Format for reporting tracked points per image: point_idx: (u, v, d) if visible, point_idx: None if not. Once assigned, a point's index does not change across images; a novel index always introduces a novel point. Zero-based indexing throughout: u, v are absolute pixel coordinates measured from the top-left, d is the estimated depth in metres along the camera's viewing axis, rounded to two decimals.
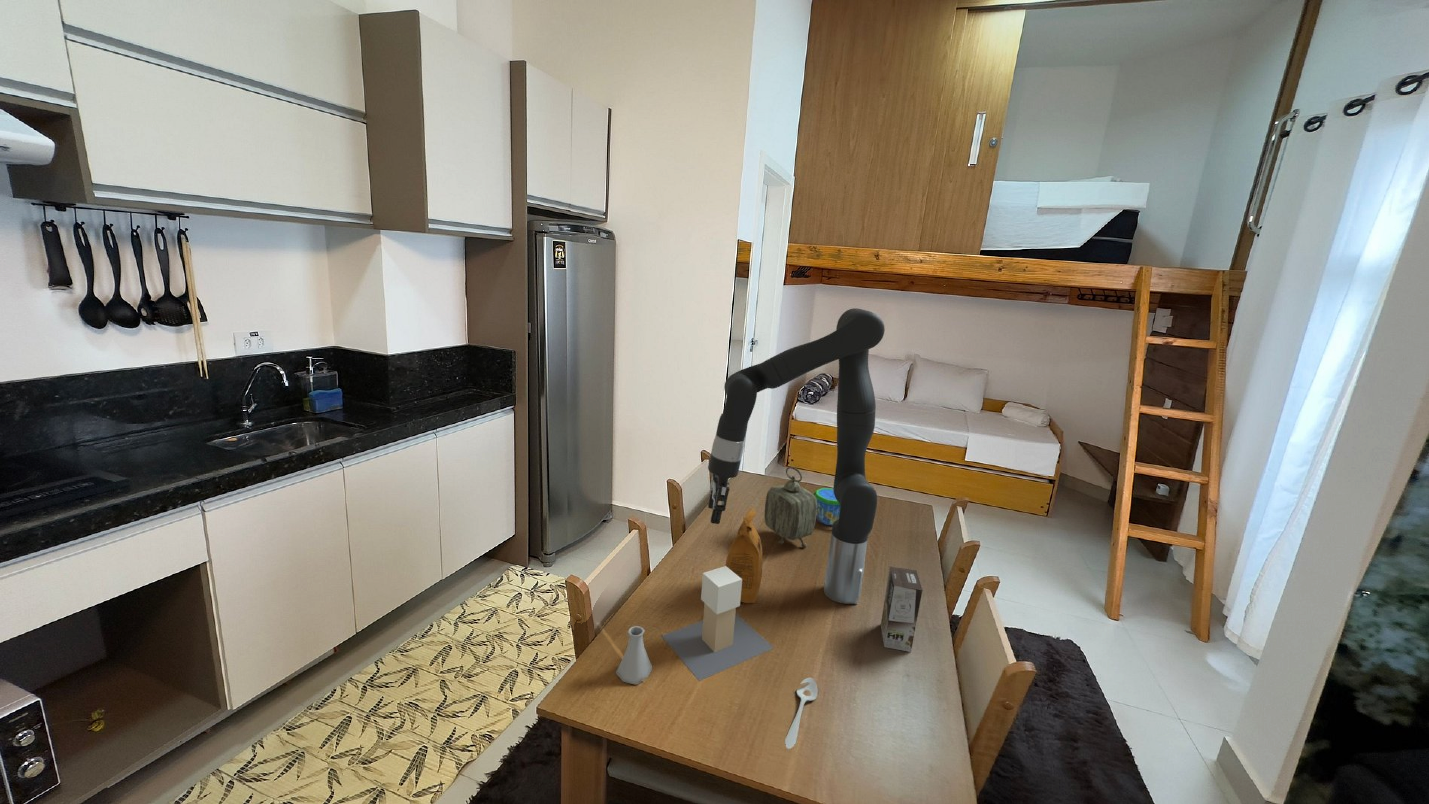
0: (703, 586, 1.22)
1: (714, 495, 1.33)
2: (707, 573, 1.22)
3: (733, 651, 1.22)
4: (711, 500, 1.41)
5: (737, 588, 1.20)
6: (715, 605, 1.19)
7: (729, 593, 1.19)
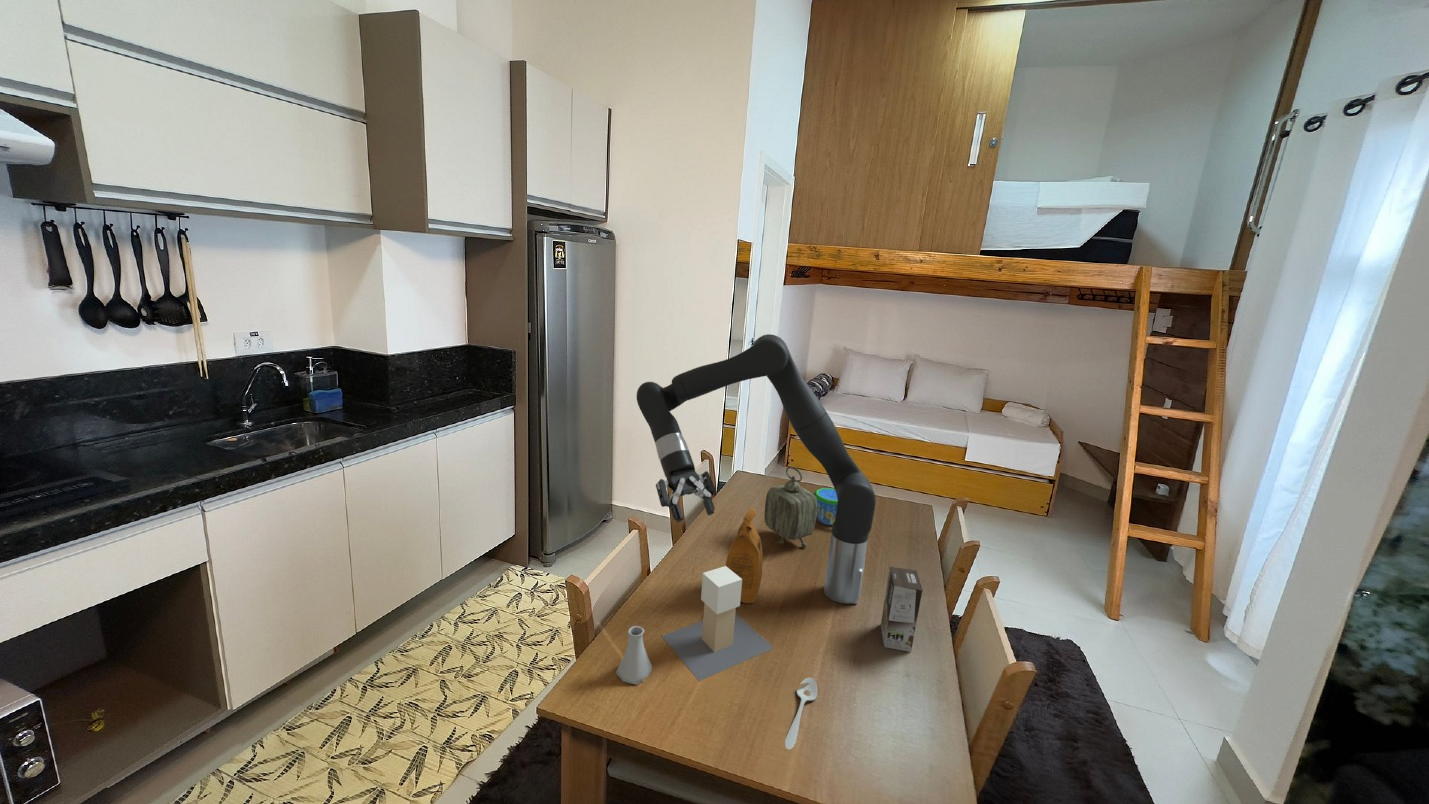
0: (703, 586, 1.22)
1: (671, 495, 1.31)
2: (707, 573, 1.22)
3: (733, 651, 1.22)
4: (705, 506, 1.33)
5: (737, 588, 1.20)
6: (715, 605, 1.19)
7: (729, 593, 1.19)
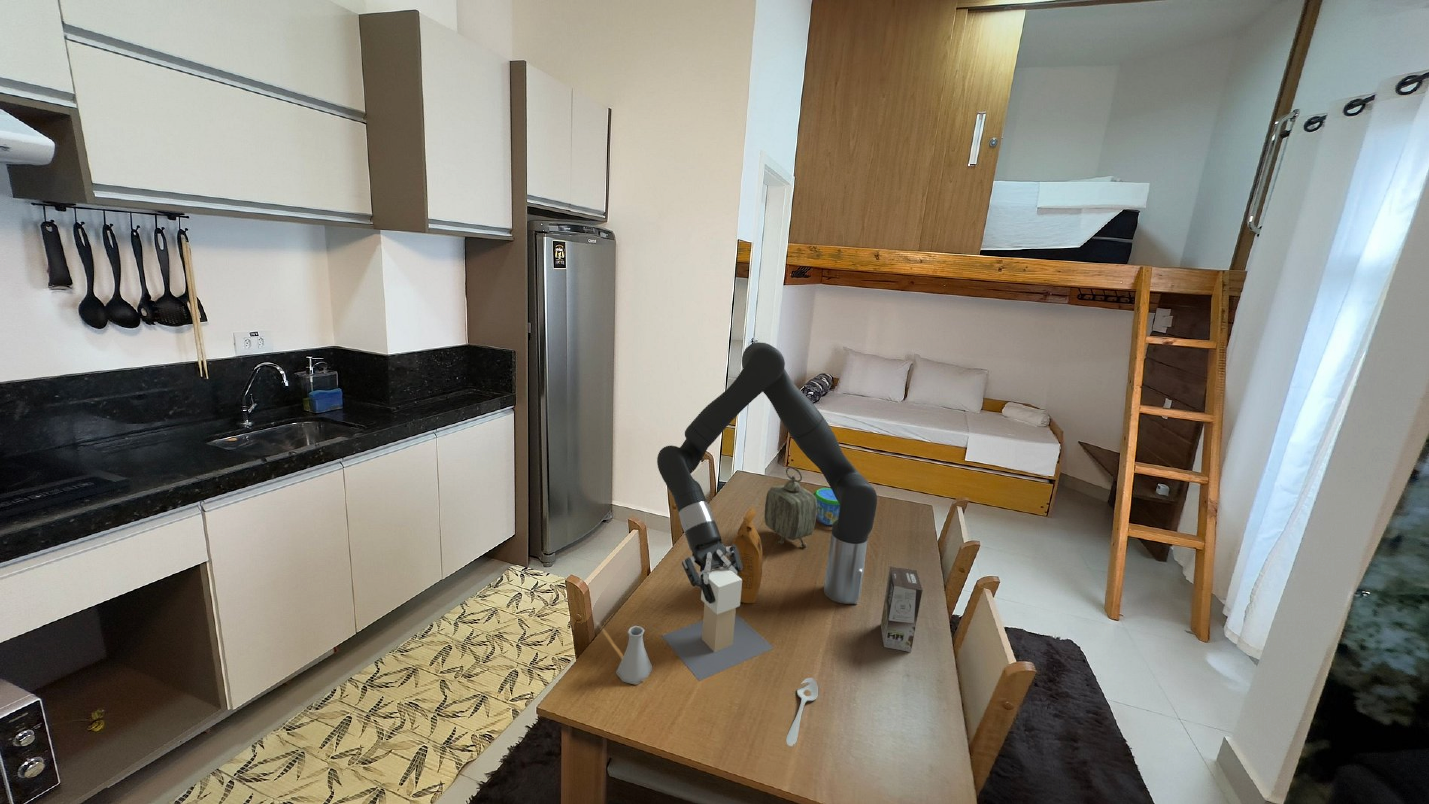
0: None
1: (699, 572, 1.23)
2: None
3: (733, 651, 1.22)
4: None
5: (737, 588, 1.20)
6: (715, 605, 1.19)
7: (729, 593, 1.19)
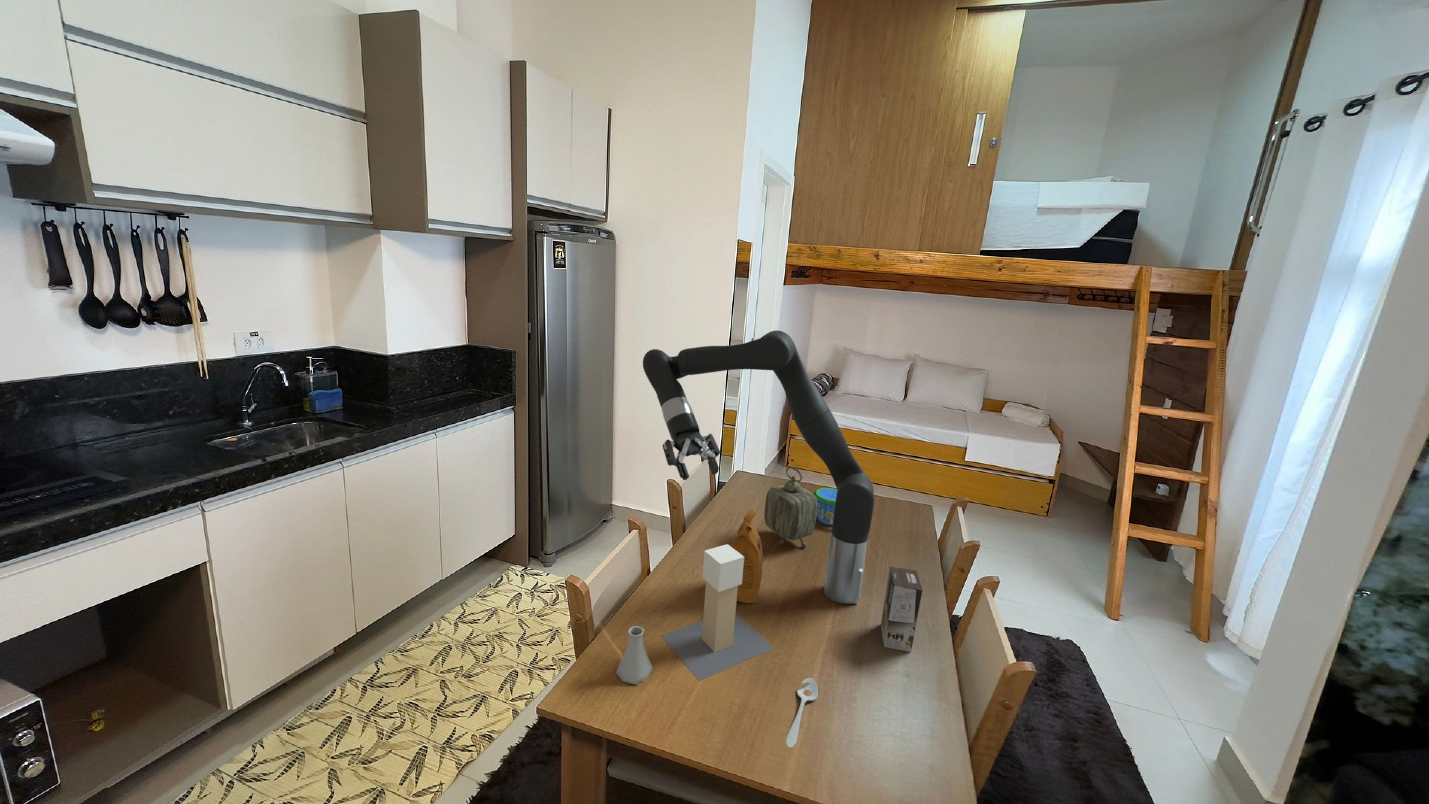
0: (705, 564, 1.21)
1: (677, 455, 1.37)
2: (709, 550, 1.21)
3: (733, 651, 1.22)
4: (710, 466, 1.39)
5: (739, 566, 1.19)
6: (717, 582, 1.17)
7: (731, 570, 1.18)
